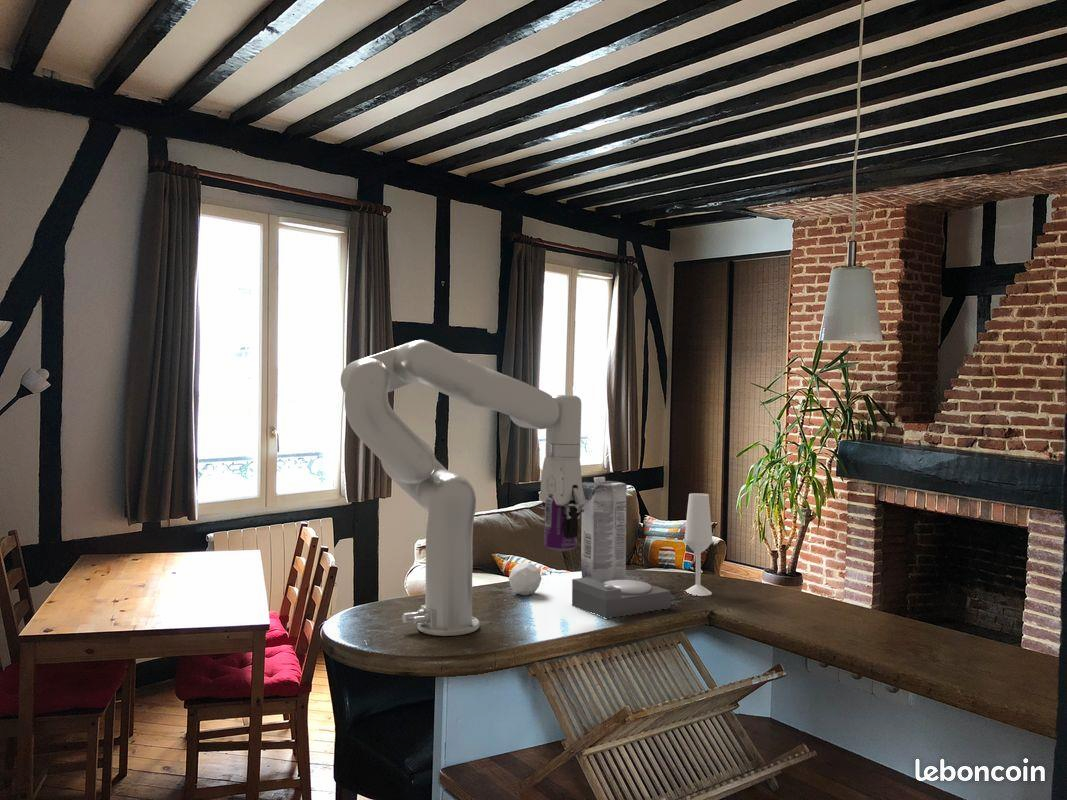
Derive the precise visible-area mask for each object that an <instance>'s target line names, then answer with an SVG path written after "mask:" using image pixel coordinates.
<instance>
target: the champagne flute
mask: <svg viewBox="0 0 1067 800" xmlns="http://www.w3.org/2000/svg"><path fill="white" fill-rule="evenodd" d="M712 529H713V528H712V518H711V506H710V494H708V493H695V492H694V493H693V492H692V493H689V494H688V502H687V511H686V521H685V529H684V530H685V531H684V541H685V544H687V546H688V547H689V549H691V550H692V551H693V552H694V553H695V584H694V585H692V586H691V587H689V588H687V589H686V590H684V591H686V592H687V593H689V594H692V595H691V596H696V595H697V597H698V596H700V597H703V596H704V597H705V596H711V595H712V591H710V590H709V589H707V587H705V586H703V585H701V576H702V575H701V574H702V573H701V571H702V570H701V567H702V566H701V564H702V563H701V561H702V560H701V558H702V557H701V556H702V555H701V554H702V553H704V552H705V551H706V550H707V549H708V548H709V547H710V545H712V542H713V530H712ZM689 594H688V595H689Z"/></svg>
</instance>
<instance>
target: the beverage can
mask: <svg viewBox="0 0 1067 800" xmlns="http://www.w3.org/2000/svg"><path fill="white" fill-rule="evenodd" d="M548 495H549V497H548V498H547V499H546V501H545V513H544V527H543V528H544V529H543V530H544V531H543V532H544V533H543V546H544V547H546V548H547V549H548V550H550V551H554V552H569V551H572V550H573V549H575V548H576V547H577V546H578V536H577V537H572V538H565V537H564V519H567V518H566V514H565V510H564V506H558V505H556V503H555V501H554V499H553V497H552V496H553V495H552V494H548ZM573 503H574V501H569V503H568V504H573ZM572 508H573V507H569V509H570V511H571V510H572Z"/></svg>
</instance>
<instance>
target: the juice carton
mask: <svg viewBox="0 0 1067 800" xmlns="http://www.w3.org/2000/svg"><path fill="white" fill-rule="evenodd" d="M593 481H594V482H593ZM593 481H591V482H589V481H586V482H585V481H584V482H582V497H583V499H584V501H585V505H584V507H583V509H582V512H581V539H580V540H581V544H580V545H581V550H580V553H581V555H580V557H581V558H580V560H581V561H580V564H581V565H580V567H581V578H586V577H587V578H590V579H593V580H596V581H599V582H602V583H604V582H607V581H611V580H626V568H627V565H626V563H627V487H628V485H627V483H624V482H620V481H613V480H606V477H605V476H598V477H595V476H594V477H593Z"/></svg>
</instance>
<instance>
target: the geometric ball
mask: <svg viewBox="0 0 1067 800" xmlns="http://www.w3.org/2000/svg"><path fill="white" fill-rule="evenodd" d="M508 582H509V585H510V588H511V589H512V591H514V592H515V593H516V594H517V595H522V596H528V595H532V594H535V593H536V591H537V590H538V589H539V586H540V585H541V582H542V575H541V572H540V569H539V568H538V567H537V566H536V565H535V564H534V563H530V562H526V561H524V562H519V563H516V564H515V565H514V567H513V568H511V571H510V573H509V577H508Z"/></svg>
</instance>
